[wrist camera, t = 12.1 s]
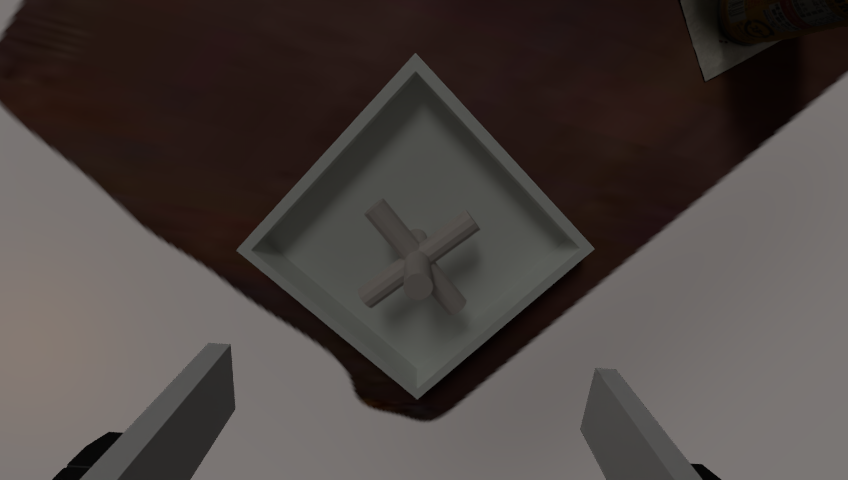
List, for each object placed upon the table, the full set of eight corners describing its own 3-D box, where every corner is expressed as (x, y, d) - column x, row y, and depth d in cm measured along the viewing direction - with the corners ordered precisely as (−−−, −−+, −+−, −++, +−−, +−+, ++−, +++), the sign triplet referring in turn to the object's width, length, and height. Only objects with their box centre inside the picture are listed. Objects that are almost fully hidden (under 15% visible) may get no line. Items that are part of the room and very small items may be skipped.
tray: (415, 60, 30) (415, 52, 27) (577, 236, 34) (594, 248, 31) (254, 237, 34) (236, 250, 31) (417, 375, 38) (417, 399, 35)
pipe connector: (497, 248, 34) (529, 299, 24) (407, 312, 36) (404, 383, 26) (427, 155, 31) (433, 172, 22) (334, 228, 33) (302, 274, 24)
